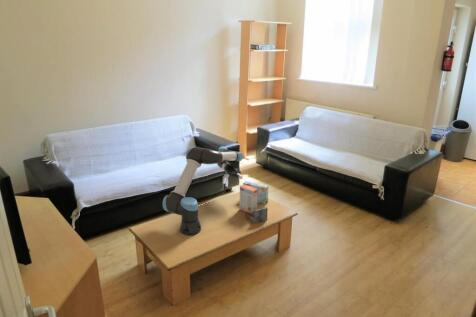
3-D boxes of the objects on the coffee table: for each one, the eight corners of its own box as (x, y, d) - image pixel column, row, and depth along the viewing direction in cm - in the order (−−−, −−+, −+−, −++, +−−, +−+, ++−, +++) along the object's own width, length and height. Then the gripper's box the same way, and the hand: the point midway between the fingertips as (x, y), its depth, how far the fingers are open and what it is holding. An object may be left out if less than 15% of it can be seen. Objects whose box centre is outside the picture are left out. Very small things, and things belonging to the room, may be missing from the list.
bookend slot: (253, 223, 256) (253, 211, 252) (244, 216, 266) (244, 204, 263) (267, 219, 261) (267, 207, 258) (258, 212, 272) (258, 201, 268)
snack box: (268, 202, 289) (268, 185, 284) (265, 204, 285) (266, 187, 280) (245, 196, 298) (245, 180, 293) (242, 199, 294) (242, 182, 289)
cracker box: (257, 213, 271) (258, 189, 263) (252, 216, 266) (252, 191, 259) (244, 207, 280) (244, 183, 273) (239, 209, 276) (239, 185, 269)
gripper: (234, 170, 299) (248, 180, 280) (221, 173, 293) (234, 183, 274) (234, 162, 297) (248, 171, 277) (221, 165, 291) (234, 174, 271)
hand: (241, 177), depth 276 cm, fingers closed
